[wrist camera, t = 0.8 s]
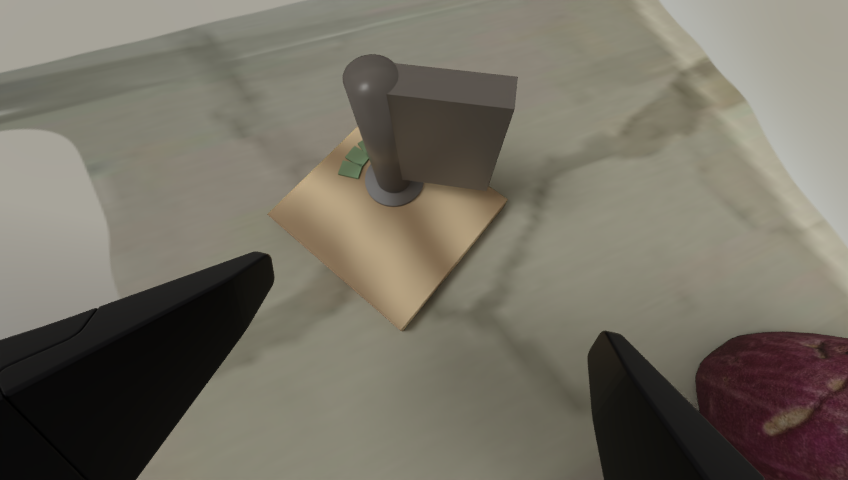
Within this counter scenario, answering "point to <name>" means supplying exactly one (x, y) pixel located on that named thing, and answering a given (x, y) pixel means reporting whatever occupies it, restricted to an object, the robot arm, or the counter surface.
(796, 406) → the vegetable
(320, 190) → the wooden board
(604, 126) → the counter surface
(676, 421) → the robot arm
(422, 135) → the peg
